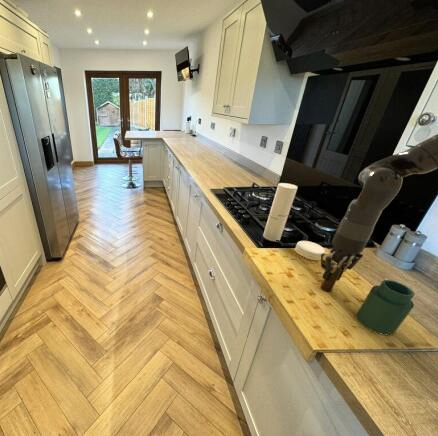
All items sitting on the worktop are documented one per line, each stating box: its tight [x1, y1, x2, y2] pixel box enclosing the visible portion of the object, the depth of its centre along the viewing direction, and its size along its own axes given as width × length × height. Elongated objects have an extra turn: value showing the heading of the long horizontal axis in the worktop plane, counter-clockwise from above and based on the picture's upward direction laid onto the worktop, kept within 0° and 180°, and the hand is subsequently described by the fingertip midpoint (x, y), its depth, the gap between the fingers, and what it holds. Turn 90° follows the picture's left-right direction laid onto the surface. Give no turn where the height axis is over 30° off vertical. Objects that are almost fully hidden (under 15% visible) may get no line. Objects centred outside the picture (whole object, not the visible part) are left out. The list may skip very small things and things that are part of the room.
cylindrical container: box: [262, 182, 298, 242], centre depth 103 cm, size 7×7×25 cm
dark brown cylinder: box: [320, 265, 342, 293], centre depth 77 cm, size 3×3×9 cm
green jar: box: [356, 279, 415, 336], centre depth 64 cm, size 8×8×13 cm
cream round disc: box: [294, 240, 326, 261], centre depth 97 cm, size 10×10×4 cm
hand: (330, 279), depth 77 cm, fingers closed on dark brown cylinder, 3 cm apart
